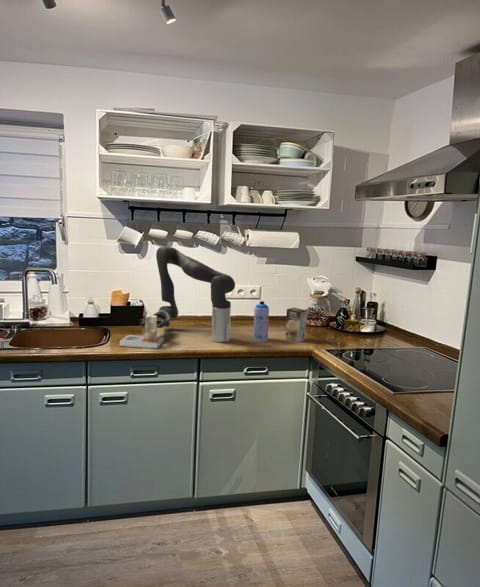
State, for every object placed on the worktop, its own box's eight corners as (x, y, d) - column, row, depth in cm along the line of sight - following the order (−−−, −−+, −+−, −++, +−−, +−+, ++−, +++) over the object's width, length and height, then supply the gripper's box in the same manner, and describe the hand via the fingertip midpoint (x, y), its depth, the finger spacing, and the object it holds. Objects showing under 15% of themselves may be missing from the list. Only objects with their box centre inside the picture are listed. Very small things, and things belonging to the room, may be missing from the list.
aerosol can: (269, 338, 243) (271, 300, 240) (266, 341, 236) (268, 303, 233) (254, 336, 245) (256, 299, 242) (251, 340, 238) (252, 302, 235)
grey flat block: (163, 342, 229) (163, 336, 228) (156, 348, 217) (156, 342, 216) (128, 339, 230) (128, 334, 230) (119, 346, 218) (119, 340, 218)
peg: (156, 343, 225) (157, 315, 223) (154, 346, 221) (154, 317, 219) (147, 343, 226) (147, 315, 223) (145, 345, 221) (145, 316, 219)
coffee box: (284, 338, 244) (285, 308, 241) (291, 336, 248) (293, 307, 246) (298, 342, 238) (300, 311, 235) (305, 340, 242) (307, 310, 240)
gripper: (146, 310, 238) (136, 317, 222) (174, 312, 236) (165, 318, 220) (146, 324, 239) (136, 332, 223) (173, 326, 237) (165, 333, 221)
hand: (151, 325), depth 222 cm, fingers open, 8 cm apart
